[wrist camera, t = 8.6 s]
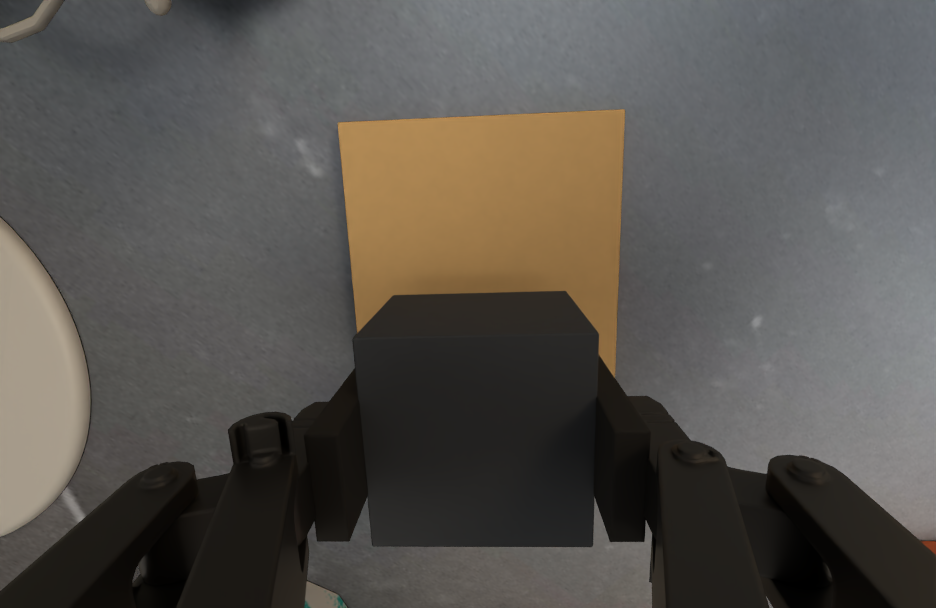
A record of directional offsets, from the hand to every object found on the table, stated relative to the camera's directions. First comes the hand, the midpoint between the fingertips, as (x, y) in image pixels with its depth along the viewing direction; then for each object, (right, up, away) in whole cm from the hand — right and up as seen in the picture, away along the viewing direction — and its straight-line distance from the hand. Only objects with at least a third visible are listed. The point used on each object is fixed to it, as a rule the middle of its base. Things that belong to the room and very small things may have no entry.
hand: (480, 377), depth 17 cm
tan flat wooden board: (0, +4, +5) cm, 6 cm away
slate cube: (0, 0, 0) cm, 0 cm away
